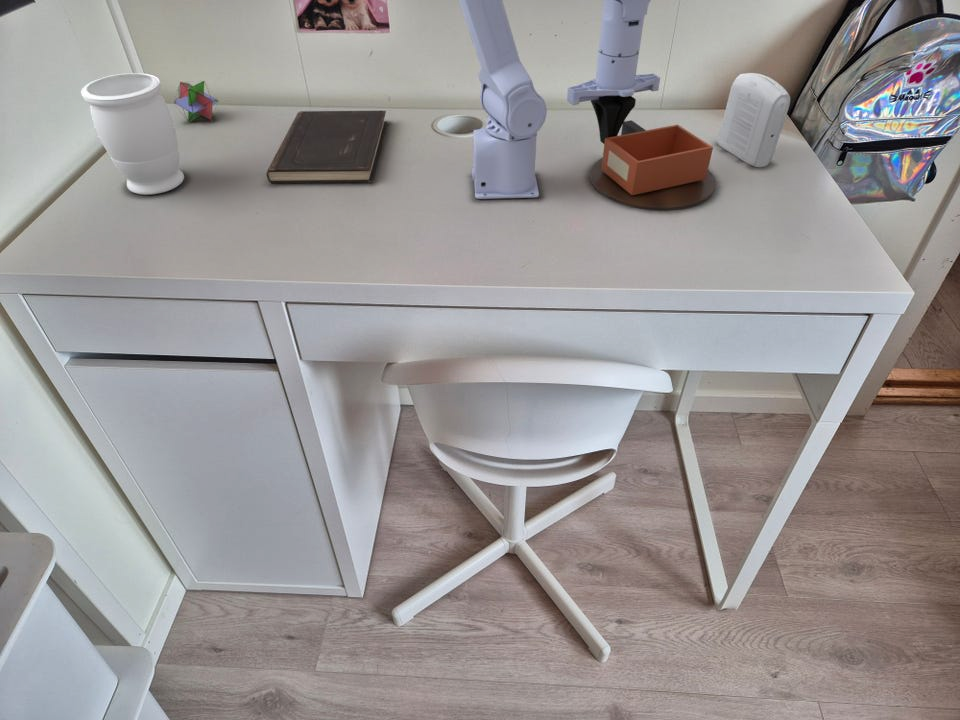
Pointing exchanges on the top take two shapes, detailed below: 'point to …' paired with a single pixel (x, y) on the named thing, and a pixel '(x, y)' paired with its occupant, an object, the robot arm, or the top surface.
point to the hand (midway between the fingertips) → (607, 142)
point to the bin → (655, 158)
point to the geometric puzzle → (195, 100)
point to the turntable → (654, 192)
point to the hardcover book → (329, 148)
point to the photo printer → (754, 118)
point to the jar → (136, 130)
